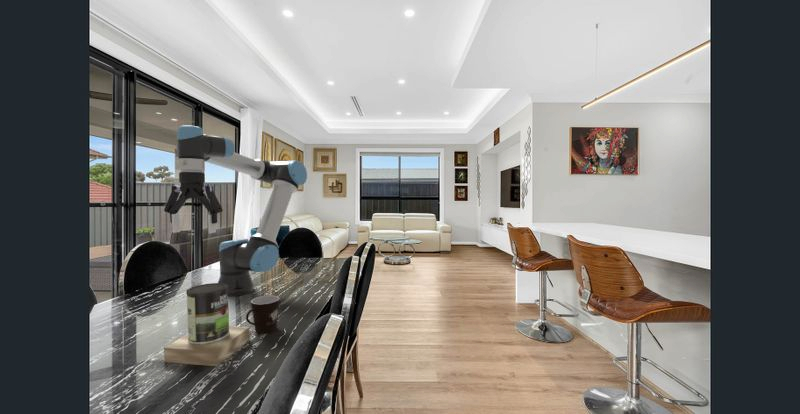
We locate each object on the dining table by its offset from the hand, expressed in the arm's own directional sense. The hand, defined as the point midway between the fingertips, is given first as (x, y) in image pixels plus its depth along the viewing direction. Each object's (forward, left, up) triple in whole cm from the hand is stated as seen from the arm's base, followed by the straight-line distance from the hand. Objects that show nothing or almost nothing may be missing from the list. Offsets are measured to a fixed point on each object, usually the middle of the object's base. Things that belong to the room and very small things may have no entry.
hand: (194, 232), depth 116 cm
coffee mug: (+7, +28, -31) cm, 42 cm away
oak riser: (+21, +21, -31) cm, 42 cm away
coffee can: (+21, +21, -27) cm, 40 cm away
